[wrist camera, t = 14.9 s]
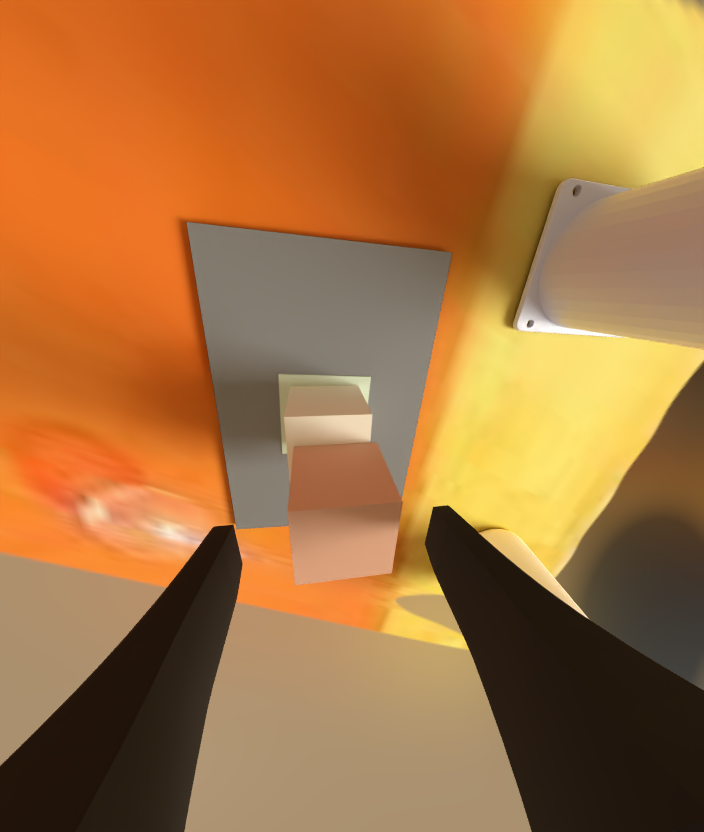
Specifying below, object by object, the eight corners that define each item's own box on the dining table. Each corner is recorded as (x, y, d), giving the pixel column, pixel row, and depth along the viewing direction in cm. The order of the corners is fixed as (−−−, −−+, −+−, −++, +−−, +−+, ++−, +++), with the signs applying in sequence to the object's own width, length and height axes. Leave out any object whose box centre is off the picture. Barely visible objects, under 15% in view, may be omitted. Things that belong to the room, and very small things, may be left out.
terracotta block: (376, 442, 14) (402, 501, 10) (371, 503, 16) (391, 573, 12) (293, 446, 14) (287, 511, 10) (298, 509, 16) (295, 585, 12)
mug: (406, 566, 28) (453, 700, 19) (447, 512, 25) (524, 638, 16) (489, 579, 32) (561, 697, 23) (533, 533, 29) (636, 646, 20)
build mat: (448, 253, 15) (453, 252, 15) (395, 514, 24) (397, 519, 24) (190, 224, 13) (185, 221, 13) (237, 524, 22) (236, 530, 22)
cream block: (358, 385, 18) (372, 414, 14) (355, 442, 20) (367, 482, 16) (289, 386, 17) (283, 417, 13) (294, 445, 19) (290, 487, 15)
